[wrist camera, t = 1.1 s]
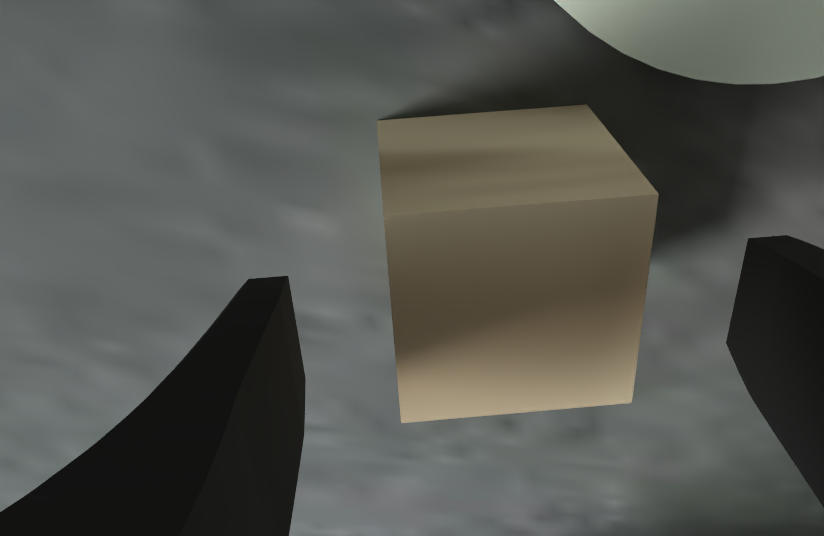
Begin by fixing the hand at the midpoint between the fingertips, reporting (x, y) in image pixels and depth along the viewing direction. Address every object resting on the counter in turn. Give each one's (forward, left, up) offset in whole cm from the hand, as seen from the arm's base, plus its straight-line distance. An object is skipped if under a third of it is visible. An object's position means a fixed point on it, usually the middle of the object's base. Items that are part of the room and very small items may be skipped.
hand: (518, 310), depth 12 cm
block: (0, 0, -4) cm, 4 cm away
